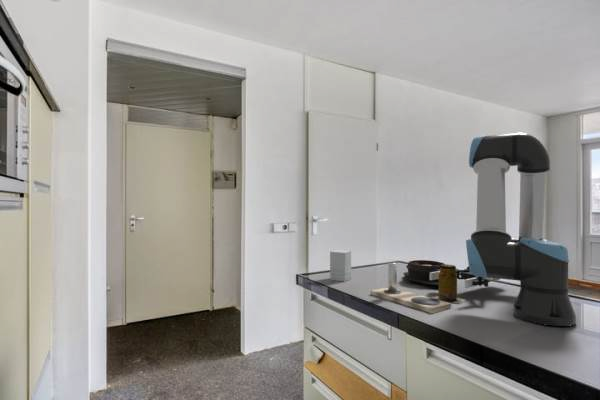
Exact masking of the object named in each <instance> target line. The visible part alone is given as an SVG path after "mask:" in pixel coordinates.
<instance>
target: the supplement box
mask: <svg viewBox="0 0 600 400" xmlns="http://www.w3.org/2000/svg"><path fill="white" fill-rule="evenodd" d="M329 269H330V271H329V274H330V275H329V277H330V281H337V282H339V281H340V282H347V281H349V280H351V279H352V251H351V250H346V249H344V250H343V249H335V250H331V251H330V252H329Z"/></svg>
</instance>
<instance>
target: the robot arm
mask: <svg viewBox="0 0 600 400" xmlns="http://www.w3.org/2000/svg"><path fill="white" fill-rule="evenodd" d="M468 164H469V167H470V168H472V169H473V170H472V171H473V172H474V173H475V174H477V183H476V184H477V185H476V187H477V188H476V190H477V191H476V195H477V196H476V220H475V221H476V222H475V223H476V226H475V227H476V229H475V231H474V232H472V233H471V235H470V238H469V239H466V240H465V245H466V246H465V247H466V254H467V262H468V263H467V264H468V265H467V267H466V268H465V269H459V268H456V274H457V280H464V288H465V289H469V288H474V287H477V286H479V287H482V286H484V287H485V288H486V287H488V288H489V283H490V282H494V281H500V280H508V281H519V282H520V284H519V285H520V286H519V287H520V289H519V292H518V295H517V297H516V299H515V302H514V305H513V316H515V317H516V316H517V317H516V318H518V319H520V318H521V320H523V319H524V320H523V321H525V320H527V321H526V322H528V321H530V322H529V323H532V322H533V323H532V324H536V323H539V324H538V325H541V324H546V325H554V326H570V325H574V324H577V315H576V312H575V310H574V308H573V307H574V306H573V304H572V301H571V299H570V297H569V263H570V260H569V250H568V248H567V246H566V245H564V244H562V243H560V242H559V243H558V242H556V241H555V242H554V241H549V240H547V239H546V238H545V239H544V238H543V236H544V234H543V233H544V217H545V213H544V212H545V198H546V197H545V196H546V174H547V173H548V172H550V170H551V169H550V166H551V165H550V164H551V161H550V157H549V153H548V151H547V149H546V147H545V146H544V145H543V143H542V142H541V141H540V140H539V139H537V138H536V137H535V136H533V135H531V134H529V133H525V132H517V133H516V132H515V133H503V134H491V135H487V134H486V135H485V134H484V135H481V136H480V135H479V136H476V137H474V138H472V140H471V144H470V149H469V157H468ZM511 167H517V170H516V171H517V172H518V173H519V174H520V175H519V176H520V177H519V178H520V179H519V181H520V182H519V183H520V184H519V185H520V186H519V217H518V219H519V220H518V221H519V222H518V223H519V224H518V227H519V228H518V237H512V236H511V234H509V233H508V232H507V227H506V226H507V225H506V224H507V222H506V220H507V218H506V215H507V214H506V173H508V172H509V171H510V169H511ZM439 272H440V269H438V270H437V269H436V270H435V272H431V273H430V280H436V279H439ZM546 325H545V326H546ZM554 326H553V327H554ZM574 326H575V325H574Z"/></svg>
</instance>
